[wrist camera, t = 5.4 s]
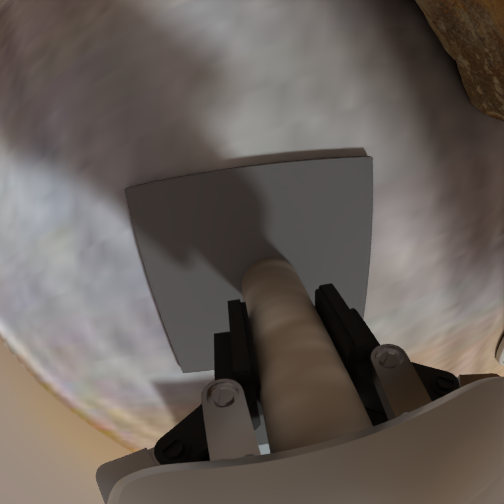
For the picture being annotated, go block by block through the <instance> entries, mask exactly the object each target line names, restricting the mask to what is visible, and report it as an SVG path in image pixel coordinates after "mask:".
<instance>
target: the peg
mask: <svg viewBox="0 0 504 504" xmlns="http://www.w3.org/2000/svg"><path fill="white" fill-rule="evenodd" d="M241 286H242V293H243V300H244V302H246V306H247V312H248V318H249V323H250V329H251V335H252V340H253V346H254V352H255V357H256V363H257V368H258V374H259V380H260V387H261V389H260V400H261V405H262V411H263V416H264V422H265V427H266V433H267V438H268V443H269V449H270V453H276V452H281V451H286V450H291V449H296V448H300V447H305V446H309V445H313V444H317V443H321V442H325V441H329V440H332V439H336V438H339V437H343V436H346V435H349V434H353V433H356V432H359V431H362V430H365V429H368V428H370V427H373V425H372V423H371V420H370V418H369V416H368V414H367V412H366V410H365V408H364V405H363V403H362V401H361V399H360V397H359V395H358V393H357V391H356V389H355V387H354V385H353V382H352V380H351V378H350V376H349V374H348V372H347V370H346V368H345V366H344V364H343V362H342V360H341V358H340V356H339V354H338V352H337V350H336V348H335V346H334V344H333V342H332V340H331V338H330V336H329V334H328V332H327V330H326V328H325V326H324V324H323V322H322V320H321V318H320V316H319V314H318V312H317V310H316V308H315V306H314V304H313V303H312V301H311V299H310V297H309V295H308V293H307V291H306V289H305V287H304V285H303V283H302V281H301V280H300V278H299V276H298V274H297V272H296V270H295V269H294V267H293V266H292V265H291V264H290V263H288V262H287V261H285V260H282V259H278V258H267V259H263V260H260V261H258V262H256V263H254V264H253V265H252V266H250V267H249V269H248V270H247V271H246V272H245V274H244V276H243V279H242V285H241Z"/></svg>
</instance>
